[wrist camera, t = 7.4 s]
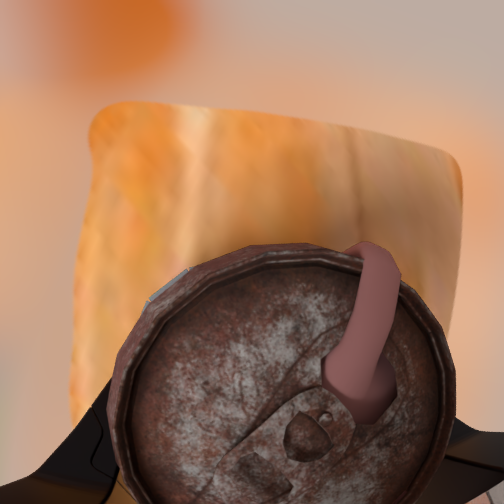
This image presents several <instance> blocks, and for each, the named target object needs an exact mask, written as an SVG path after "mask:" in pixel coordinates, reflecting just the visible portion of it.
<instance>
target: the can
mask: <svg viewBox="0 0 504 504" xmlns="http://www.w3.org/2000/svg"><path fill="white" fill-rule="evenodd" d="M106 411H107V417H108V423H109V429H110V435H111V440H112V445H113V450H114V455H115V460H116V463H117V465H118V466H119V468H120V470H121V474H122V478H123V482H124V484H125V485H126V487H127V488H128V490H129V491H130V493H131V495H132V496H133V498H134V499H135V501H136V502H137V504H415V503H416V502H417V501H418V500H419V499H420V498H421V496H422V495H423V493H424V491H425V490H426V488H427V487H428V485H429V483H430V482H431V480H432V478H433V477H434V475H435V473H436V472H437V470H438V468H439V466H440V464H441V463H442V461H443V459H444V456H445V453H446V449H447V446H448V443H449V439H450V436H451V432H452V428H453V424H454V420H455V416H456V371H455V367H454V363H453V360H452V357H451V353H450V350H449V347H448V344H447V341H446V338H445V335H444V332H443V329H442V327H441V325H440V324H439V322H438V321H437V320H436V318H435V317H434V315H433V314H432V313H431V311H430V310H429V308H428V307H427V306H426V304H425V303H424V301H423V300H422V299H421V297H420V296H419V295H418V293H417V292H416V291H415V290H414V289H413V288H411V287H410V286H408V285H407V284H406V283H404V282H403V281H401V273H400V271H399V269H398V267H397V265H396V263H395V261H394V259H393V257H392V255H391V254H390V253H389V252H388V251H387V250H386V249H384V248H381V247H379V246H377V245H375V244H373V243H371V242H360V243H358V244H356V245H354V246H353V247H351V248H349V249H347V250H346V251H344V252H342V253H341V252H337V251H334V250H330V249H327V248H323V247H319V246H316V245H312V244H308V243H291V244H270V245H250V246H248V247H245V248H242V249H240V250H237V251H234V252H232V253H229V254H226V255H224V256H221V257H218V258H216V259H213V260H210V261H208V262H205V263H202V264H200V265H197V266H195V267H194V268H192V269H191V270H190V271H189V272H187V273H186V274H185V275H184V276H182V277H181V278H180V279H179V280H177V281H176V282H175V283H174V284H172V285H171V286H170V287H169V288H168V289H166V290H165V291H164V292H163V293H161V294H160V295H159V296H158V297H156V298H155V299H154V300H153V301H151V302H150V303H149V304H148V305H147V307H146V309H145V310H144V312H143V313H142V315H141V316H140V318H139V320H138V321H137V323H136V324H135V326H134V328H133V329H132V331H131V332H130V334H129V336H128V337H127V339H126V341H125V342H124V344H123V345H122V347H121V349H120V350H119V352H118V354H117V357H116V362H115V367H114V371H113V376H112V381H111V386H110V391H109V397H108V402H107V408H106Z"/></svg>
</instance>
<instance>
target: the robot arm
mask: <svg viewBox="0 0 504 504" xmlns="http://www.w3.org/2000/svg"><path fill="white" fill-rule="evenodd" d="M111 381H112V377H111V379H110V380H109V382H108V383H107V384H106V386H105V387H104V389H103V390H102V391H101V393H100V394H99V396H98V397H97V398H96V400H95V401H94V403H93V404H92V407H90V408H89V409H88V411H87V412H86V414H85V415H84V417H83V418H82V419H81V421H80V422H79V423H78V425H77V426H76V427H75V429H74V430H73V431H72V432H71V433H70V434H69V436H68V437H67V438H66V439H65V440H64V441H63V442H62V443H61V445H60V446H59V447H58V448H57V449H56V450H55V451H54V453H52V455H51V456H50V457H49V458H48V459H47V460H46V461H45V462H44V464H42V465H41V467H40V468H38V469H37V470H36V471H35V472H33V473H32V474H30V475H29V476H27V477H24V478H22V479H20V480H17V481H14V482H11V483H9V484H6V485H3V486H0V504H137V502H136V501H135V499H134V498H133V496H132V495H131V493H130V491H129V490H128V488H127V487H126V485H125V484H124V482H123V478H122V474H121V470H120V468H119V466H118V465H117V463H116V460H115V455H114V450H113V445H112V440H111V435H110V429H109V423H108V417H107V411H106V408H107V402H108V397H109V391H110V386H111ZM415 504H504V432H485V431H479V430H475V429H473V428H471V427H469V426H468V425H466V424H465V423H463V422H462V421H460V420H459V419H457V418H456V417H455V420H454V424H453V428H452V432H451V436H450V439H449V443H448V446H447V449H446V453H445V456H444V459H443V461H442V463H441V464H440V466H439V468H438V470H437V472H436V473H435V475H434V477H433V478H432V480H431V482H430V483H429V485H428V487H427V488H426V490H425V491H424V493H423V495H422V496H421V498H420V499H419V500H418V501H417V502H416V503H415Z"/></svg>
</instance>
